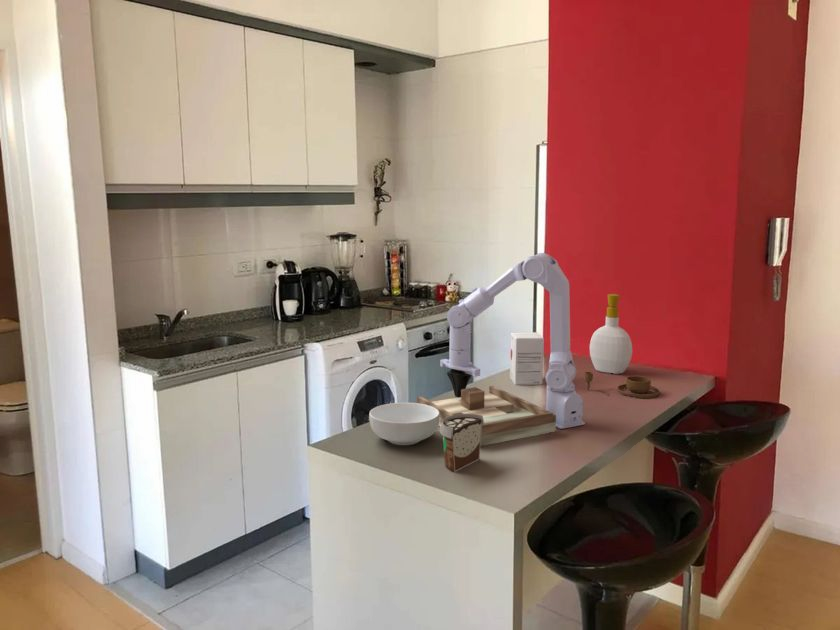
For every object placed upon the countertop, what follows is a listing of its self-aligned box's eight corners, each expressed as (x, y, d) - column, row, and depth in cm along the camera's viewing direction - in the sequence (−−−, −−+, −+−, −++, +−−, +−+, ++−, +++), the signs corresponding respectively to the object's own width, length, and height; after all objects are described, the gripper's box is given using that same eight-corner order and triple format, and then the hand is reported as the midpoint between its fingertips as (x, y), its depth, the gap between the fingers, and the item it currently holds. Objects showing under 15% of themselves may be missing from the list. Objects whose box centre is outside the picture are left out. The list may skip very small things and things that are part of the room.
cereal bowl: (451, 435, 170) (451, 408, 169) (417, 457, 156) (417, 427, 154) (393, 423, 178) (393, 397, 177) (355, 443, 164) (355, 415, 163)
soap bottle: (635, 372, 230) (640, 294, 225) (625, 377, 223) (630, 298, 218) (595, 365, 238) (598, 290, 234) (584, 370, 231) (587, 293, 227)
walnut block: (484, 407, 183) (484, 391, 182) (469, 410, 181) (469, 393, 180) (475, 403, 187) (475, 387, 186) (461, 405, 185) (461, 389, 184)
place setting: (644, 405, 196) (646, 385, 195) (580, 392, 209) (581, 373, 207) (668, 392, 209) (669, 373, 208) (606, 380, 222) (607, 362, 221)
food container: (461, 451, 160) (461, 409, 158) (483, 457, 156) (484, 415, 154) (427, 467, 150) (427, 423, 148) (450, 474, 146) (450, 429, 145)
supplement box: (509, 377, 223) (510, 332, 220) (536, 377, 223) (538, 331, 221) (514, 385, 214) (515, 338, 211) (543, 384, 214) (544, 337, 212)
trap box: (555, 431, 172) (556, 412, 172) (472, 447, 162) (473, 427, 161) (492, 400, 198) (492, 383, 197) (417, 412, 187) (417, 394, 186)
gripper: (489, 351, 185) (488, 400, 187) (453, 341, 196) (453, 388, 198) (469, 354, 180) (468, 404, 183) (434, 345, 192) (434, 392, 194)
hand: (459, 396), depth 190 cm, fingers closed
